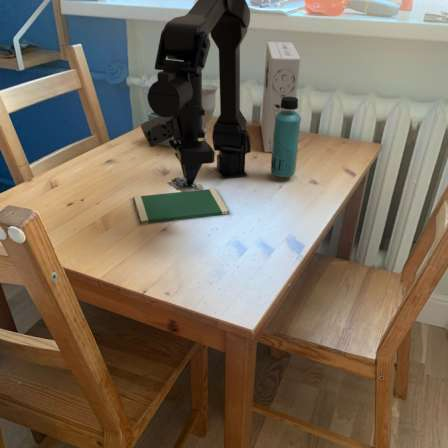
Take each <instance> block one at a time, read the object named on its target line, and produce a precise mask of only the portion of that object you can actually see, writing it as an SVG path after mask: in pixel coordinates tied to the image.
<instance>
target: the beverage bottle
mask: <svg viewBox="0 0 448 448" xmlns="http://www.w3.org/2000/svg"><path fill="white" fill-rule="evenodd" d="M280 107H281V108H283V109H288V110H284V111H281V112H279V113H278V114H277V115H276V116H275V130H274V136H273V137H274V138H273V139H274V141H273V148H272V149H273V152H271V157H270V158H271V159H270V160H271V161H270V171H271V174H272V175H274V176H275V177H281V178H289V177H291V176H294V175H295V172H296V170H297V169H296V167H297V161H298V159H297V158H298V152H299V150H298V148H299V145H298V144H299V137H300V129H301V121H302V117H301V115H300V114H299V113H298V112H297V111H296V110H297V109H299V99H298V97H296V98H295V97H283V98H282V101H281V106H280ZM294 109H295V111H291V110H294Z"/></svg>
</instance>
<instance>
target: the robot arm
mask: <svg viewBox="0 0 448 448" xmlns="http://www.w3.org/2000/svg"><path fill="white" fill-rule="evenodd" d="M250 22H251V10H250V7H249V5H248V3H247V0H197V1H195V3H194V5H193V6H192V7H191V8H190V10H189V11H188V12H187V13H186V14H185V15H180V16H177V17H173V18H172V19H170V20H169V21H168V22H166V23H165V25H164V27H163V29H162V30H161V34H160V37H159V43H158V47H157V52H156V57H155V63H154V70H155V71H158V72H157V74H156V75H157V77H156V78H157V80H156V81H155V82H153V83H152V84H151V85H150V87H149V88H148V92H147V103H148V105H149V108H150V109H151V111H152V112H155V113H156V114H157V115H159V116H158V117H156V118H153V119H151V120H149V119H148V120H147V121H145V122H142V124H140V129H141V131H142V133H143V135H144V137H145V140H146V142H147V144H148V146H149V147H150V148H154V147H158V145H160V144H159V143H161V142H163V141H165V140H168V139H170V138H171V137H172V139H173V140H169V141H168V142H169V144H170V146H171V147H170V148H172V149H173V150H174V151H175V152H174V155H175V157H176V160H178V162H179V164H180V168H181V172H182V176H183V178H186V181H187V184H188V185H191V184H193V182H194V181H196V178H197V176H198V174H199V172H200V170H201V169H202V166H203V165H205V164H213V163H215V151H218V154H217V155H216V171H217V172H218V173H219V175H220V176H221V177H222V178H223V179H230V178H239V177H246V176H247V172H246V170H245V168H246V155H247V154H249V153H251V152H252V139H251V136H250V133H249V130H248V129H247V119H246V117H245V116H244V114H243V113H242V111H241V67H240V66H241V44H242V42H243V41H244V39H245V37H246V36H247V33H248V29H249V26H250ZM209 35H210V36H209ZM210 37H211V39H212V41H213V42H214V44H215V46H216V47H217V49H218V73H219V102H220V103H219V108H220V109H219V110H220V114H219V116H218V117H217V119H216V121H215V123H214V124H213V129H212V136H211V137H212V144H213V145H212V146H213V147H212V146H211V144H210V143H208V141H207V140H206V141H202V140H199V139H202V138H205V132H204V131H203V129H202V116H204V115H205V110H204V108H203V107H202V84H203V74H202V73H203V72H202V71H203V70H204V69H205V67H206V63H207V59H208V56H209V52H210V48H211V40H210Z"/></svg>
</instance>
